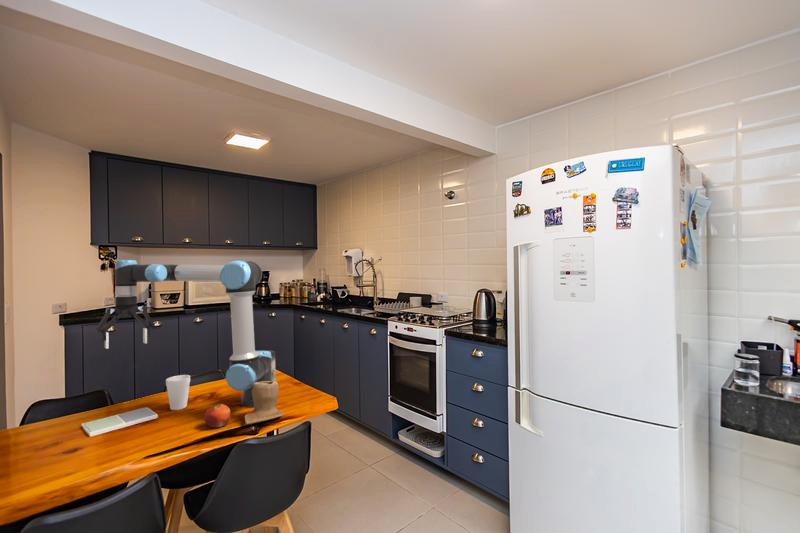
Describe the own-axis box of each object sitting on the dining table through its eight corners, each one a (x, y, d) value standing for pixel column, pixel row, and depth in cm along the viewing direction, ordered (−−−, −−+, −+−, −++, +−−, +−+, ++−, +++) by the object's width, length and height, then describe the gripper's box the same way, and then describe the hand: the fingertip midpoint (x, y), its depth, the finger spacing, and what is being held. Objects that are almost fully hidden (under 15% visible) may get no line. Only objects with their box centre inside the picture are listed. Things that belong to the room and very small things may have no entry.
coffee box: (258, 384, 196) (258, 354, 196) (254, 382, 201) (254, 352, 201) (275, 381, 202) (275, 351, 202) (271, 378, 207) (271, 349, 207)
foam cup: (194, 405, 168) (194, 376, 168) (173, 412, 160) (173, 382, 160) (183, 402, 172) (182, 374, 173) (161, 408, 165) (161, 379, 165)
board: (157, 417, 155) (157, 414, 155) (90, 436, 138) (90, 432, 138) (146, 409, 164) (146, 406, 164) (81, 426, 147) (81, 423, 147)
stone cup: (277, 410, 160) (276, 375, 161) (285, 419, 151) (285, 382, 151) (239, 418, 152) (238, 382, 152) (246, 429, 142) (245, 389, 142)
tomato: (235, 423, 147) (235, 403, 147) (212, 432, 139) (212, 411, 139) (222, 418, 152) (222, 399, 152) (199, 427, 145) (199, 406, 145)
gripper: (156, 293, 171) (157, 339, 171) (86, 297, 152) (87, 349, 152) (162, 294, 166) (162, 342, 166) (90, 298, 147) (91, 351, 147)
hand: (126, 345), depth 159 cm, fingers open, 13 cm apart
